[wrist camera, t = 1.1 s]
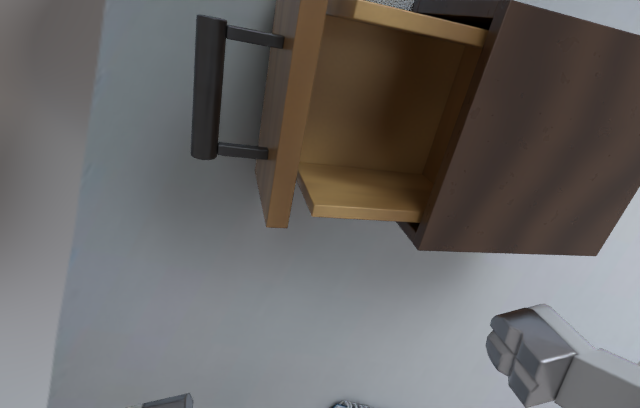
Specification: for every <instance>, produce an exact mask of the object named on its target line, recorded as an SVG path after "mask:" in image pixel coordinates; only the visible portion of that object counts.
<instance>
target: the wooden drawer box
mask: <svg viewBox="0 0 640 408" xmlns="http://www.w3.org/2000/svg"><path fill="white" fill-rule="evenodd" d="M412 12H415V13H419V14H423V15H427V16H432V17H436V18H440V19H444V20H448V21H452V22H456V23H460V24H465V25H469V26H473V27H477V28H481V29H485V30H489V31H488V34H487V37H486V40H485V42H484V45H483V48H482V51H481V54H480V56H479V59H478V62H477V65H476V68H475V70H474V73H473V76H472V79H471V82H470V84H469V87H468V90H467V93H466V96H465V98H464V101H463V104H462V107H461V109H460V112H459V115H458V118H457V121H456V123H455V126H454V129H453V132H452V135H451V137H450V140H449V143H448V146H447V149H446V151H445V154H444V157H443V160H442V163H441V165H440V168H439V171H438V174H437V177H436V179H435V182H434V185H433V188H432V191H431V193H430V196H429V199H428V202H427V205H426V207H425V210H424V213H423V216H422V219H421V221H420V223H415V222H398V221H396V223H397V224H398V225H399V226H400V228H401V229H402V230H403V231H404V233H405V234H406V235H407V237H408V238H409V239H410V240H411V242H412V243H413V245H414V246H415V247H416V248H417V250H419V251H450V252H482V253H513V254H545V255H576V256H597V254H598V253H599V251H600V249H601V248H602V246H603V244H604V243H605V241H606V240H607V238H608V236H609V235H610V233H611V232H612V230H613V228H614V227H615V225H616V224H617V222H618V220H619V219H620V217H621V216H622V214H623V212H624V211H625V209H626V208H627V206H628V204H629V203H630V201H631V200H632V198H633V196H634V195H635V193H636V192H637V190H638V188H639V187H640V35H637V34H633V33H629V32H626V31H622V30H619V29H615V28H611V27H608V26H604V25H601V24H597V23H593V22H590V21H586V20H582V19H579V18H575V17H572V16H568V15H564V14H561V13H557V12H554V11H550V10H546V9H543V8H539V7H535V6H532V5H528V4H525V3H521V2H517V1H514V0H415V2H414V6H413V10H412Z"/></svg>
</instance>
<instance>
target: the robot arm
mask: <svg viewBox="0 0 640 408" xmlns="http://www.w3.org/2000/svg"><path fill="white" fill-rule="evenodd" d="M490 326H491V327H492V328H493V331H492V332H491V333H490V334H489V335H488V336H487V341H486V348H487V353H488V356H489V358H490V360H491V362H492V363H493V365H494V366H495V368H496V369H497V370H498V371H499V372H501V373H503V374H505V375H506V376H508V383H509V386H510V388H511V389H512V390H513V392H514V393H515V394H516V396H517V397H518V398H519V400H520V401H521V402H522V404H523V405H524V406H525V408H528V407H531V406H535V405H539V404H543V403H546V402H550V401H554V400H555V403H556V404H558V405H559V406H561V407H562V408H640V365H638V364H636V363H633V362H631V361H629V360H627V359H624V358H622V357H620V356H618V355H615V354H613V353H611V352H609V351H606V350H604V349H602V348H600V349H595V348H594V347H593V346H592V345H591V344H590V343H589V342H588V341H587V340H586V339H585V338H584V337H583V336H581V335H580V334H579V333H578V332H577V331H576V330H575V329H574V328H573V327H572V326H571V325H570V324H569V323H568V322H566V321H565V320H564V319H563V318H562V317H561V316H560V315H559V314H558V313H557V312H556V311H555V310H554V309H553V308H551V307H550V306H548V305H546V304H539V305H536V306H532V307H528V308H522V309H518V310H515V311H511V312H507V313H504V314H500V315H496V316H494V317H493V318H492V320H491V324H490ZM127 408H193V399H192V397H191V394H190V393H186V394H182V395H178V396H173V397H169V398H165V399H161V400H156V401H152V402H148V403H143V404H139V405H135V406H131V407H127Z"/></svg>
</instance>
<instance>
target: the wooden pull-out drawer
mask: <svg viewBox="0 0 640 408" xmlns="http://www.w3.org/2000/svg"><path fill="white" fill-rule="evenodd" d="M488 31H489V30H485V29H481V28H477V27H473V26H469V25H465V24H460V23H456V22H452V21H448V20H444V19H440V18H436V17H432V16H427V15H423V14H419V13H415V12H411V11H407V10H403V9H398V8H394V7H390V6H386V5H382V4H378V3H374V2H370V1H365V0H276V7H275V15H274V23H273V31H272V33H267V32H262V31H257V30H252V29H247V28H242V27H237V26H232V25H227V20H225V19H221V18H216V17H211V16H206V15H200V14H198V15H197V19H196V42H195V65H194V88H193V111H192V134H191V156H192V157H194V158H197V159H201V160H212V159H215V158H216V157H217V154H218V155H222V156H232V157H242V158H252V159H256V166H255V174H256V179H257V184H258V189H259V194H260V199H261V204H262V209H263V214H264V219H265V224H266V227H270V228H287V227H288V222H289V217H290V211H291V205H292V200H293V194H294V189H295V183H296V180H297V182H298V185H299V187H300V189H301V192H302V194H303V197H304V199H305V201H306V204H307V206H308V208H309V211H310V213H311V216H312V217H326V218H344V219H362V220H380V221H398V222H415V223H420V221H421V219H422V216H423V213H424V210H425V207H426V205H427V202H428V199H429V196H430V193H431V191H432V188H433V185H434V182H435V179H436V177H437V174H438V171H439V168H440V165H441V163H442V160H443V157H444V154H445V151H446V149H447V146H448V143H449V140H450V137H451V135H452V132H453V129H454V126H455V123H456V121H457V118H458V115H459V112H460V109H461V107H462V104H463V101H464V98H465V96H466V93H467V90H468V87H469V84H470V82H471V79H472V76H473V73H474V70H475V68H476V65H477V62H478V59H479V56H480V54H481V51H482V48H483V45H484V42H485V40H486V37H487V34H488ZM226 38H227V39H231V40H236V41H241V42H247V43H252V44H257V45H263V46H268V47H270V55H269V63H268V71H267V79H266V87H265V94H264V102H263V110H262V118H261V126H260V134H259V142H258V146H251V145H242V144H232V143H223V142H218V137H219V124H220V110H221V97H222V84H223V71H224V58H225V45H226Z"/></svg>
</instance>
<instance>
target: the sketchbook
mask: <svg viewBox="0 0 640 408" xmlns="http://www.w3.org/2000/svg"><path fill="white" fill-rule="evenodd" d="M343 402H345V404H344V405H341V404H342V403H343ZM346 405H347V406H346ZM349 405H350V406H349ZM352 405H355V408H357V407H358V406H360V408H371V407H366V406H365V405H363V406H361V404H357V405H356V403H351V402H350V401H346V400H343V401H341V402H340V404H336V405H335V406H334V407H333V408H352Z"/></svg>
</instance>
